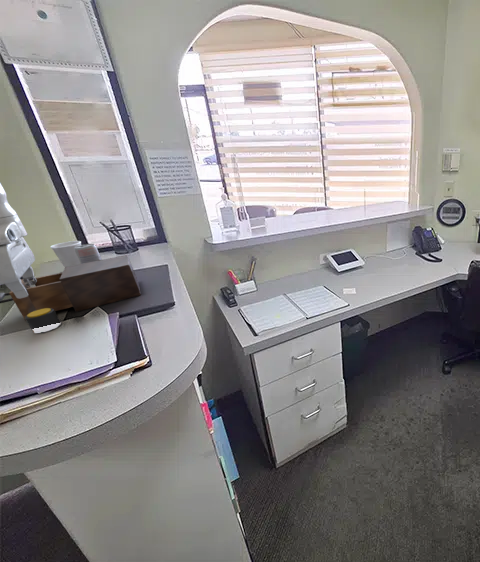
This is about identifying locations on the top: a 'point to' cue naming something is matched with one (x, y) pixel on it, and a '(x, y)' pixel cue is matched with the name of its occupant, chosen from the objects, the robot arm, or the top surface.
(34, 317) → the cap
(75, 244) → the dixie cup
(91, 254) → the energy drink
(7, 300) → the drawer
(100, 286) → the cabinet
